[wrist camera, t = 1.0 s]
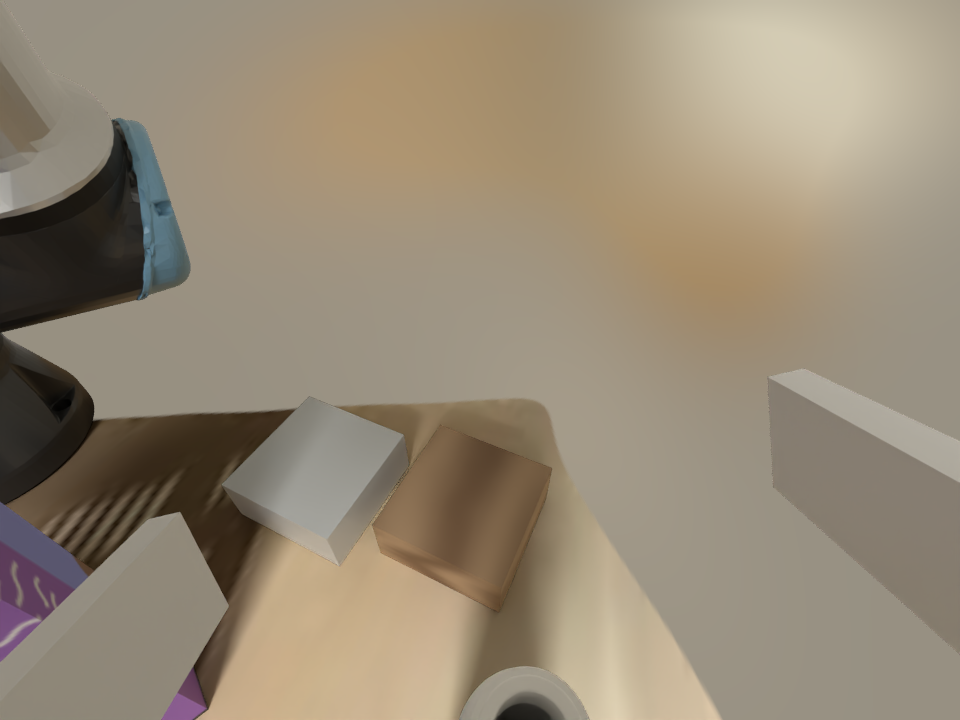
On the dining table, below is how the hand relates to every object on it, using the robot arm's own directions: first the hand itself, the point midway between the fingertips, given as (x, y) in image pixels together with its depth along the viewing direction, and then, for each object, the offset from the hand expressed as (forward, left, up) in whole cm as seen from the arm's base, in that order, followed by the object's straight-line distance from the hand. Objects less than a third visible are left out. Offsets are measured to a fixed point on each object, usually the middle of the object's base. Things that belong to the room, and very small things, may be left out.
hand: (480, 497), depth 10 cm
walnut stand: (-5, +10, -23) cm, 25 cm away
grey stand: (-16, +8, -23) cm, 29 cm away
